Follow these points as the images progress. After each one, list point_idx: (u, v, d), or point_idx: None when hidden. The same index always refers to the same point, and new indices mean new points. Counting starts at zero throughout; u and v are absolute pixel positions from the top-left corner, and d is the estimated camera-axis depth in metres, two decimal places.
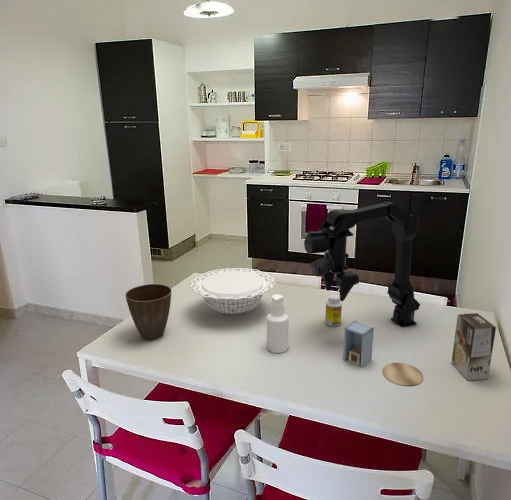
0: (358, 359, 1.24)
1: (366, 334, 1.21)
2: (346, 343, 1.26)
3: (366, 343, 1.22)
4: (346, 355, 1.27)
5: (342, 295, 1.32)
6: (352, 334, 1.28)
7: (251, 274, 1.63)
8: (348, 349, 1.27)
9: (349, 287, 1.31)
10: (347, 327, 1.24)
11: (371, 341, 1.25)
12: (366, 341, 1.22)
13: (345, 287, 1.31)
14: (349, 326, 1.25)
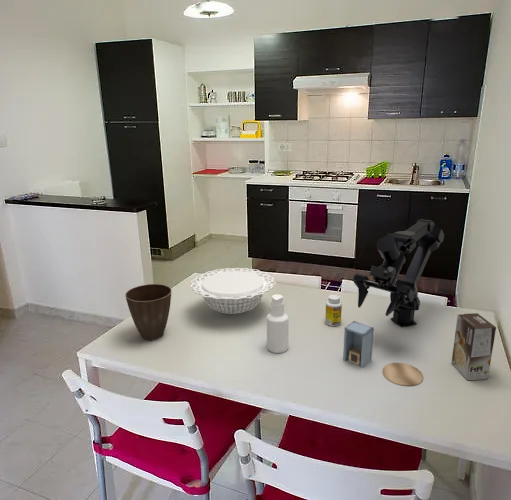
0: (358, 359, 1.24)
1: (366, 334, 1.21)
2: (346, 343, 1.26)
3: (366, 343, 1.22)
4: (346, 355, 1.27)
5: (391, 308, 1.26)
6: (352, 334, 1.28)
7: (251, 274, 1.63)
8: (348, 349, 1.27)
9: (398, 304, 1.27)
10: (347, 327, 1.24)
11: (371, 341, 1.25)
12: (366, 341, 1.22)
13: (396, 302, 1.27)
14: (349, 326, 1.25)
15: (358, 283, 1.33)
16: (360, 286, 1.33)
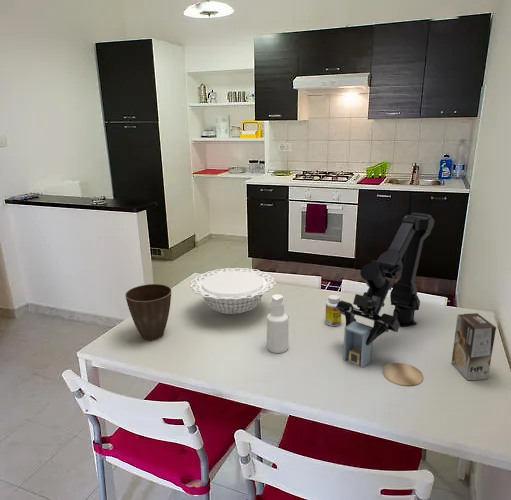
0: (358, 359, 1.24)
1: (366, 334, 1.21)
2: (346, 343, 1.26)
3: None
4: (346, 355, 1.27)
5: (371, 338, 1.22)
6: (352, 334, 1.28)
7: (251, 274, 1.63)
8: (348, 349, 1.27)
9: (379, 333, 1.23)
10: (347, 327, 1.24)
11: None
12: None
13: (377, 331, 1.23)
14: (349, 326, 1.25)
15: (345, 312, 1.28)
16: (347, 315, 1.27)
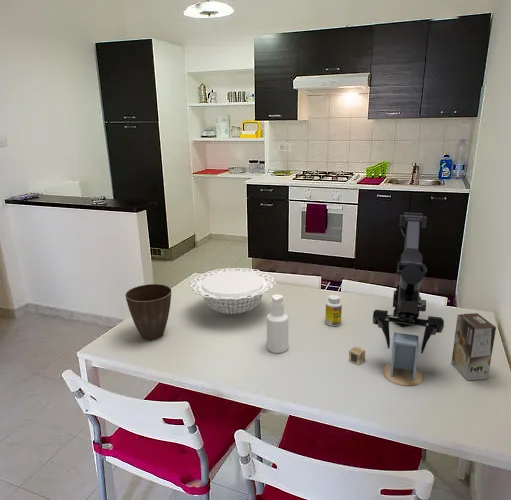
0: (358, 359, 1.24)
1: None
2: (394, 357, 1.17)
3: None
4: (392, 370, 1.18)
5: (425, 344, 1.15)
6: (394, 347, 1.19)
7: (251, 274, 1.63)
8: None
9: (428, 337, 1.17)
10: (395, 340, 1.15)
11: None
12: None
13: None
14: (396, 339, 1.16)
15: (383, 321, 1.18)
16: (385, 324, 1.18)
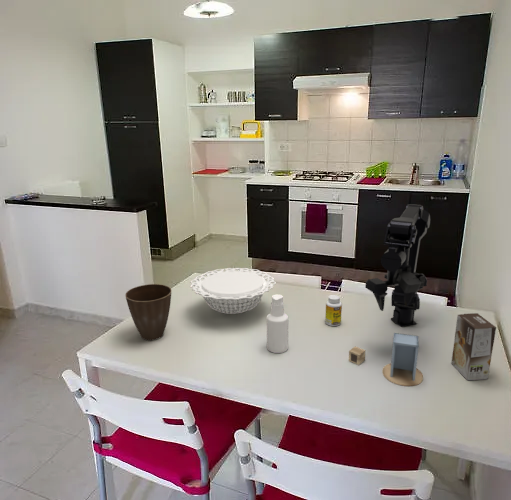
0: (358, 359, 1.24)
1: None
2: (394, 358, 1.17)
3: None
4: (392, 371, 1.18)
5: None
6: (394, 347, 1.19)
7: (251, 274, 1.63)
8: None
9: None
10: (395, 341, 1.15)
11: None
12: None
13: None
14: (396, 339, 1.16)
15: (383, 295, 1.25)
16: (383, 295, 1.26)
